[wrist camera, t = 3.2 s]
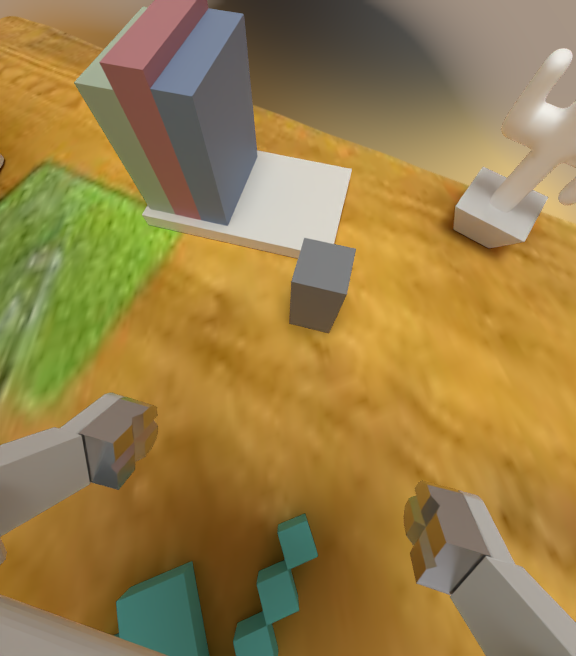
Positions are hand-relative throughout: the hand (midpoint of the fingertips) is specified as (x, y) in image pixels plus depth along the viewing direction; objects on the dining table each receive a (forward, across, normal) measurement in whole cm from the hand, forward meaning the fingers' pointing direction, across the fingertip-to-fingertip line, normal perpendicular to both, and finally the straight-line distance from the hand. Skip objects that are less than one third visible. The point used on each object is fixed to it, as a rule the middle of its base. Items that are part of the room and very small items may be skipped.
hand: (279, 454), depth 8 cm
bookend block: (+20, 0, +2) cm, 20 cm away
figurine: (+31, -16, -8) cm, 36 cm away
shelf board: (+28, +10, -7) cm, 31 cm away
